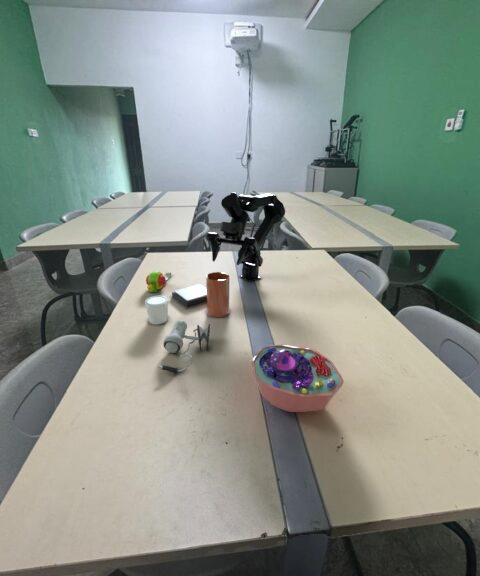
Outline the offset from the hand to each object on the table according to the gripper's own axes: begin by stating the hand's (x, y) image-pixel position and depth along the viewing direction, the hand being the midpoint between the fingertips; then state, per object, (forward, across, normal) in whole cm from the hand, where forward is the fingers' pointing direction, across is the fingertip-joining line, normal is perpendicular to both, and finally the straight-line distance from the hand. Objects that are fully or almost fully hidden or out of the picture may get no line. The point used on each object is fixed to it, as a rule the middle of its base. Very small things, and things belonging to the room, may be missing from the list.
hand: (225, 262), depth 110 cm
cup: (+17, +2, +2) cm, 17 cm away
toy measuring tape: (+9, -29, +10) cm, 32 cm away
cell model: (+38, +35, -18) cm, 55 cm away
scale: (+13, -10, +6) cm, 18 cm away
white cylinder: (+26, -13, -6) cm, 30 cm away
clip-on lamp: (+35, +4, -15) cm, 38 cm away
